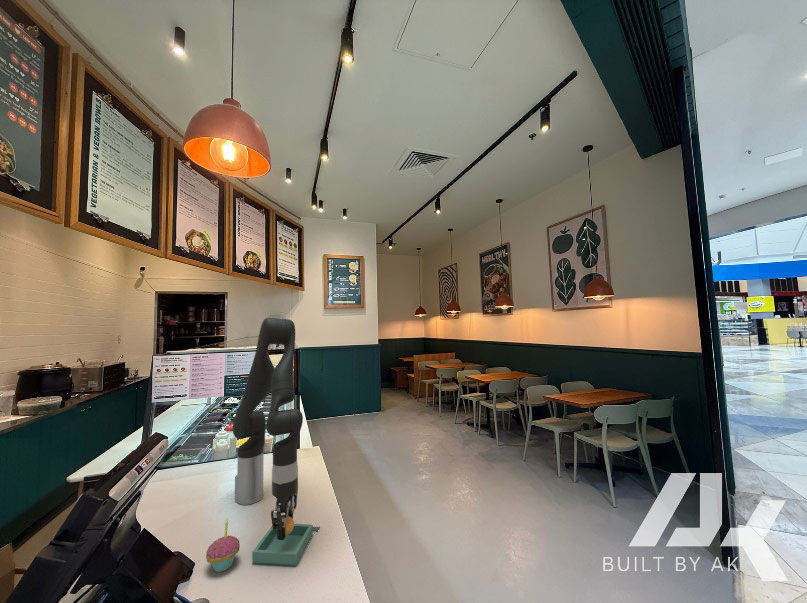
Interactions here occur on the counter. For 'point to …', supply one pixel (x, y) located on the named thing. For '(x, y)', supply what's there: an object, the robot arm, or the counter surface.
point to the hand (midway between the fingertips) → (285, 532)
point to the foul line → (316, 529)
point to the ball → (288, 525)
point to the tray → (282, 547)
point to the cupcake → (223, 551)
